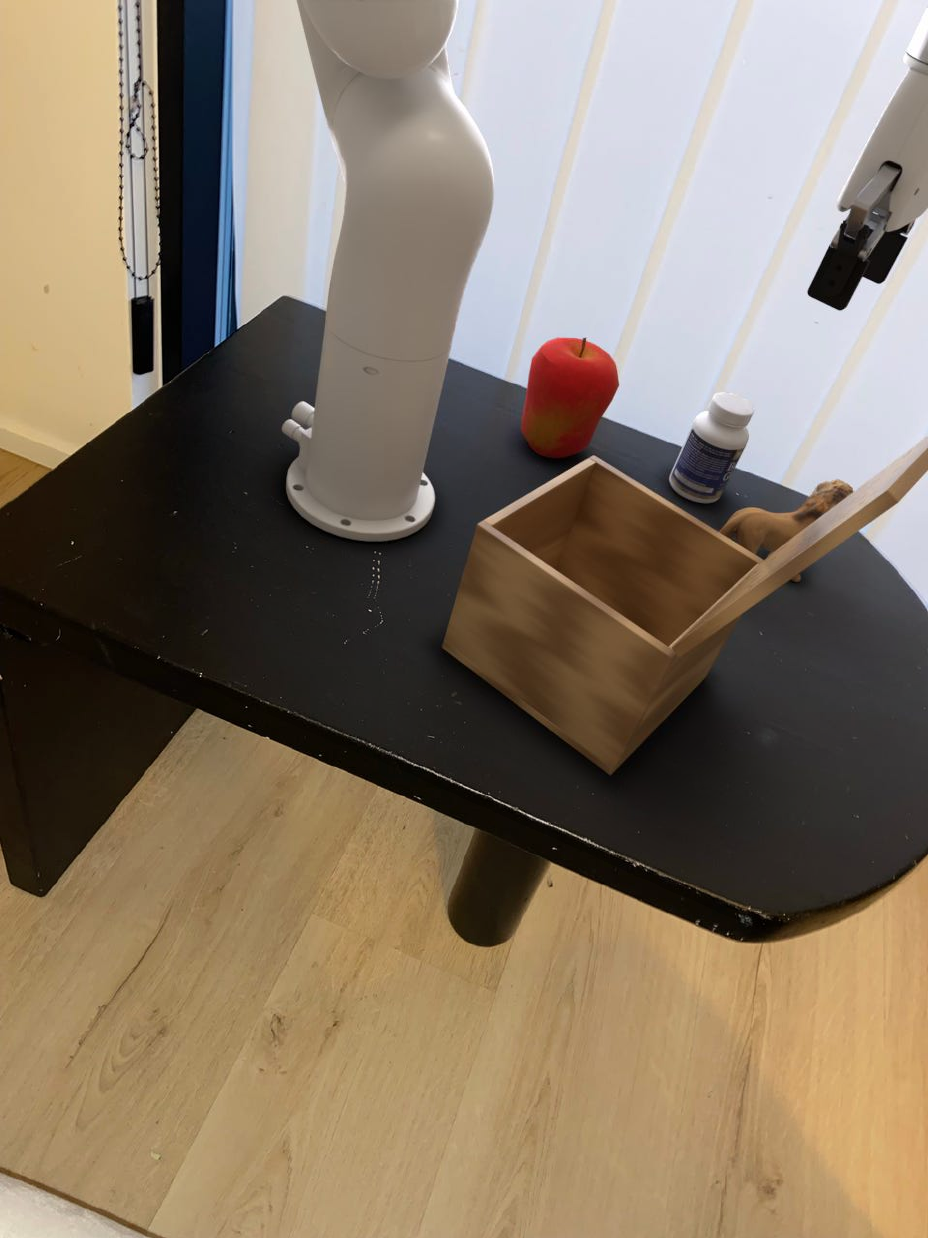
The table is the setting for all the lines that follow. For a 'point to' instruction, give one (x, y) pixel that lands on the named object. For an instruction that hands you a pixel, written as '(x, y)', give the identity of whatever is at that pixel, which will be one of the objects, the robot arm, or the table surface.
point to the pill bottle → (712, 449)
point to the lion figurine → (783, 520)
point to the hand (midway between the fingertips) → (845, 288)
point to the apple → (567, 396)
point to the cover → (814, 542)
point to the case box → (593, 607)
